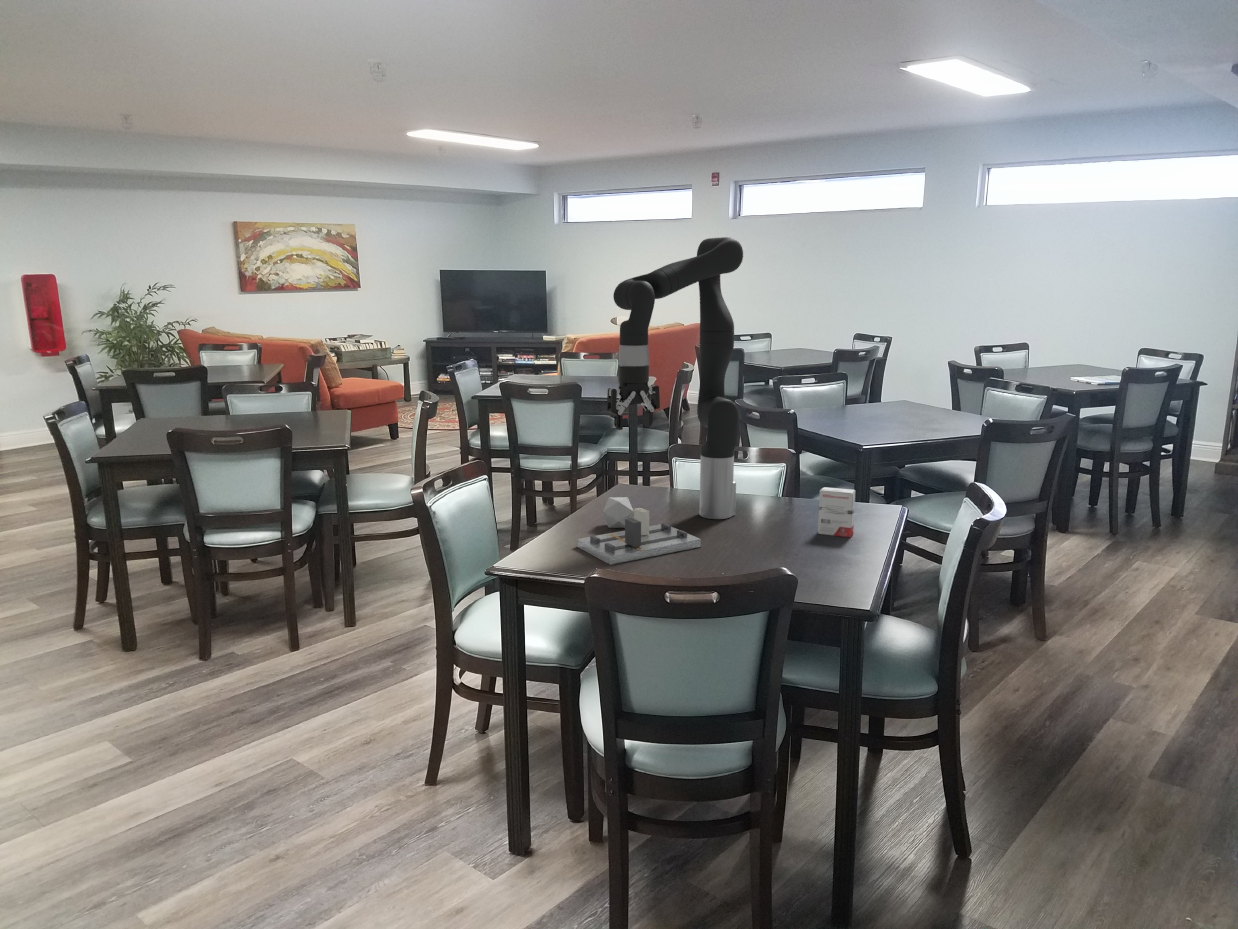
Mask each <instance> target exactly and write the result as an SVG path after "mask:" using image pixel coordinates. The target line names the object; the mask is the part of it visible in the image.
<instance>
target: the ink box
mask: <svg viewBox="0 0 1238 929" xmlns="http://www.w3.org/2000/svg"><path fill="white" fill-rule="evenodd" d="M818 495H819V500H818V518H817V519H818V525H817V534H819V535H824V536H825V535H826V536H835V537H842V538H851V537H853V534H854V529H855V528H854V527H855V525H854V524H855V511H856V509H855V508H856V507H855V506H856V490H855V489H849V488H848V489H847V488H839V487H838V488H837V487H827V486H826V487H825V486H824V487H822V488H820V490H819V494H818Z"/></svg>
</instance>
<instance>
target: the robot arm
mask: <svg viewBox="0 0 1238 929" xmlns="http://www.w3.org/2000/svg"><path fill="white" fill-rule="evenodd" d="M696 250H697V252H696V256H693V257H689V258H685V259H682V260H678V261H675V262H672V263H668V264H666V265H663V266H661V267H659V268H657V269H655V270H653V271H651V272H649V273H646V274H640V275H637V276H634V277H631V278H627V279H625V280H623V281H620V282H619V284H618V285H617V286H616V287H615V289H614V291H613V301H614V304H615V305H616V306H617V307H618V308H620V309H621V310H625V311H630V313H629V317H628V319H626V320H624V321H622V322H621V323H620V325H619V348H618V382H619V385H618V388H613V387H609V388H608V389H607V393H606V394H607V398H606V412H607V413H610V414H613V425H614V428H615V429H616V430H619V431H622V430H623V428H624V427H623V424H624V422H623V421H624V420H623V418H624V417H623V416H624V415H623V412H625V409H627V408H628V406H629V405H630V406H632V405H641V406H642V408H643V409H644V413H643V414H644V415H643V416H644V418H643V419H644V426H645V427H647V428H651V427H652V425H653V423H654V420H653V419H654V412H655V411H657V410H659V409H660V407H661V402H660V400H661V399H660V398H661V397H660V386H659V385H656V384H650V385H649V381H650V352H649V326H650V322H651V320H652V315H653V311H654V307H655V303H656V300H660V299H663V298H666V297H668V296H670V295H672V294H674V293H676V292H678V291H680V290H682V289H685V288H687V287H689V286H691V285H694V284H696V283H698V290H699V388H698V396H697V398H698V399H697V408H696V411H697V413H696V414H697V419H698V421H699V423H700V424H701V426H703V427H704V428H706V429H707V432H706V441H705V442H704V443H702V444H701V446H700V469H699V472H700V473H699V478H700V479H699V512H698V514H699V516H700V517H702V518H705V519H708V520H709V519H711V520H725V519H728V518H731V517H733V516H735V515H736V504H737V502H736V501H737V481H734V476H735V474H734V473H735V472H734V471H735V470H734V469H735V449H736V447H737V444H738V441H739V440H738V439H739V427H740V426H739V425H740V415H739V414H740V413H739V412H740V411H739V409H738V406H737V404H736V403H735V402H734V401H732V400H731V399H728V398H726V395H725V394H726V391H725V379H726V374H727V370H728V368H729V364H730V362H731V360H732V357H733V353H734V348H735V323H734V319H733V317H732V314H731V312H730V310H729V308H728V306H727V304H726V302H725V299H724V297H723V294H722V288H721V275H723V274H724V275H725V274H730V273H732V272H735V271H736V270H738V269H739V267H740V266H741V264H742V263H743V259H744V250H743V246H742V244H741V243H740V241H738V240H737V239H736V238H732V237H728V236H727V237H722V236H721V237H712V238H711V237H709V238H705V239H703V240H702V241H701V242H700V243H699V245H698V248H697V249H696ZM648 394H649V395H650V398H648V396H647V395H648ZM618 396H619V399H618V400H617V398H618Z"/></svg>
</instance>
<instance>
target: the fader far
mask: <svg viewBox="0 0 1238 929" xmlns="http://www.w3.org/2000/svg"><path fill="white" fill-rule="evenodd" d="M633 511H634V513H633V519H636V520H638V521H640V522H641V535H642V536H643V535H648V534H649V526H650V510H648V509H645V508H642V507H637V508H636V507H635V508H633Z"/></svg>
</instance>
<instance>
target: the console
mask: <svg viewBox="0 0 1238 929" xmlns="http://www.w3.org/2000/svg"><path fill="white" fill-rule="evenodd" d="M701 544H702V539H701V538H699V537H696V536H694V535H692V534H689V533H688V532H686V531H684V530H681V529H678V528H675V527H673V526H672V525H670V524H668V523H665V522H663V523H660V524H655V525H649V534H648V535H643V536H642V535H641V546H638V547H632V546H630V545H628V544H626V543H625V530H621V531H614V532H609V533H604V534H598V535H590V536H587V537H582V538H576V545H577V546H576V547H577V548H579V549H581V550H582V551H585V552H586V553H588V554H589V555H591V556H594V557H595V558H597V559H599V560H601V561H602V562H605V563H606V564H608V565H611V566H612V565H615V564H617V565H618V564H622V563H625V562H631V561H636V560H637V561H638V560H642V559H646V558H651V557H656V556H661V555H667V554H671V553H676V552H681V551H682V552H683V551H688V550H693V549H697V548H701Z"/></svg>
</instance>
